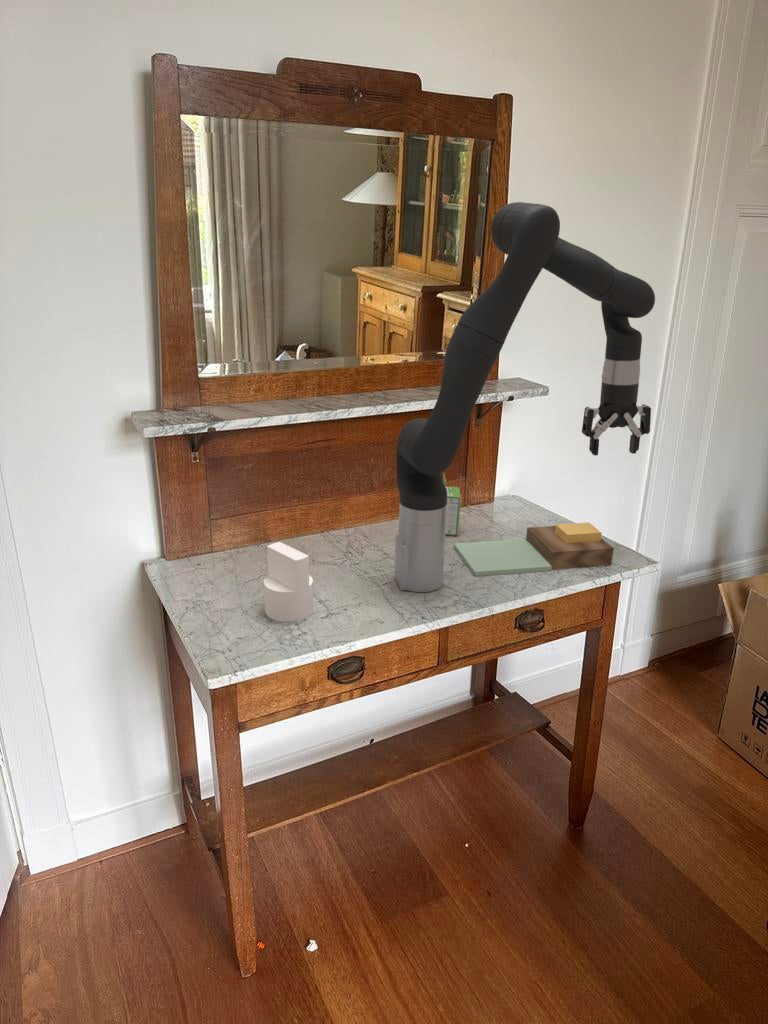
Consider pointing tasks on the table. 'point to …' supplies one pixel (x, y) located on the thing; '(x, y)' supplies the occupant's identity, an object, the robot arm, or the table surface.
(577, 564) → the brown wooden block
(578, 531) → the tile
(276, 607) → the base with upright slab
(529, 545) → the mat
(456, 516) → the ink box
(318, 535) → the table surface
